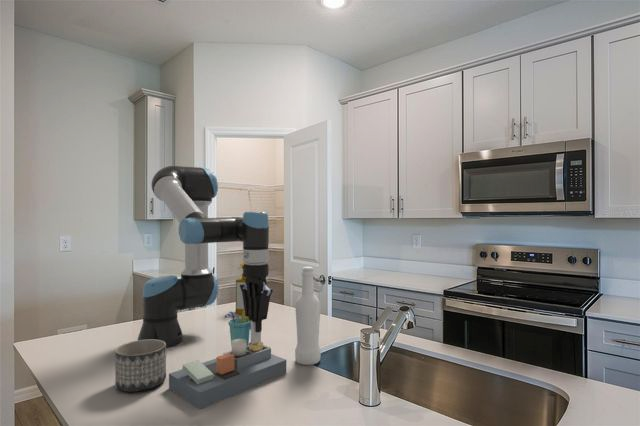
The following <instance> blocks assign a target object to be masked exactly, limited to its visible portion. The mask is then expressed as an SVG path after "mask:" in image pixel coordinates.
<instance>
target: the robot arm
mask: <svg viewBox="0 0 640 426" xmlns="http://www.w3.org/2000/svg"><path fill="white" fill-rule="evenodd" d="M218 186H219V184H218V179H217V176H216V174H215V173H214V171H213V170H211V169H209V168H204V167H197V166H195V167H193V166H179V165H170V166H165V167H163V168H161V169H159V170H158V171H157V172H156V173H155V174H154V176H153V177H152V180H151V190H152V193H153V194H154V196H155V197H156V198H157V199H158V200H159V201H162V202H163V203H164V204H165V205H166V206H167V208H168V210H169V211H170V212H171V214H172V215H173V216H174V218H175V220H177V222H178V223H179V224H178V235H179V239H180V241H181V242H182V243H183V244H184V261H185V262H184V266H185V267H184V270H183V271H182V272H180V278H178V276H177V275H170V274H169V275H163V276H157V277H154V278H151V279H148V280H147V281H145V282H144V284H143V286H142V287H143V289H142V296H141V297H142V325H141V327H140V330H139V333H138V337H137V341H138V340H146V339H156V340H162V341H164V342H165V343H166V348H169V347H174V346H175V345H178V344H180V343H181V342H182V341H183V331H182V328H181V325H180V322H179V320H178V311H184V310H189V309H195V308H203V307H206V306H211V305H212V304H214V303H215V302H216V300H217V298H218V295H219V288H220V287H219V282H218V278H217V276H216V275H213V270H211V269H210V268H209V244H213V243H215V244H216V243H230V242H231V243H234V242H235V243H236V242H241V243H242V249H243V250H242V251H243V252H242V255H243V258H242V261H243V263H245V264H244V265H243V269H242V274H243V276H244V277H246V279H245V283H244V284H241V285H240V288H241V291H242V296H243V304H244V311H245V316H246V317H249V320H250V342H251V343H253V344H254V343H258V342H262V330H263V329H262V328H263V327H262V325H263V324H262V322H263V321H265V320H267V318H268V313H269V308H270V307H269V305H270V300H271V296H272V294H273V292H274V291H273V288H269V286H268V282H267V277H268V276H269V274H270V273H269V270H270V269H269V267H270V266H269V264H268V262H269V261H270V259H269V256H270V255H269V254H270V253H269V252H270V251H269V240H270V239H269V237H270V235H269V234H270V223H269V214H268V213H267V211H244V212H243V214H242V217H238V216H235V217H234V216H233V217H209V206H210V205H211V204H212V203H213V199H214V198H216V196H217V194H218V190H219V187H218Z"/></svg>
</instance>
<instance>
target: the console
mask: <svg viewBox="0 0 640 426" xmlns="http://www.w3.org/2000/svg"><path fill="white" fill-rule="evenodd" d="M228 353H230V354H232V350H230V351H227V352H224V353H223V354H222V355H225V354H228ZM201 363H202V364H203V365H204V366H205V367H207V368H208V369H209V370H210V371H211V372H212V373H213V374H214V375H213V379H211V380H209V381H206V382H203V383H200V384H197V383H196V382H195V381H194V380H193V379H192V378H191V377H190V376H189V375H188V374H187V373H186V372H185V371H184V370H183V369H179V370H176V371H174V372H173V371H172V372H170V373H168V389H169V390H171V391H172V392H174V393H175V394H177V395H178V396H179V397H181V398H182V399H184V400H185V401H187V403H190V404H191V405H193V406H194V407H195V408H197V409H199V410H201V409H204V408H206V407H209V406H211V405H214V404H215V403H219V402H220V401H223V400H225V399H227V398H231V397H232V396H236V395H238V394H240V393H242V392H245V391H247V390H249V389H252V388H254V387H256V386H259V385H261V384H264V383H266V382H269V381H272V380H275V379H277V378H279V377H281V376H284V375H286V374H287V359H285V358H282V357H281V356H278V355H275V354H273V353H272V348H271V347H270V346H267V345H266V344H263V350H261V351H258V352H255V353H254V352H251V351H249V345H248V346H247V353H246V354H245V355H242V356H234V370H233V371H230V372H227V373H224V374H222V375H221V374H219V373H217V372H216V358H214V359H210V360H207V361H204V362H201Z"/></svg>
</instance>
